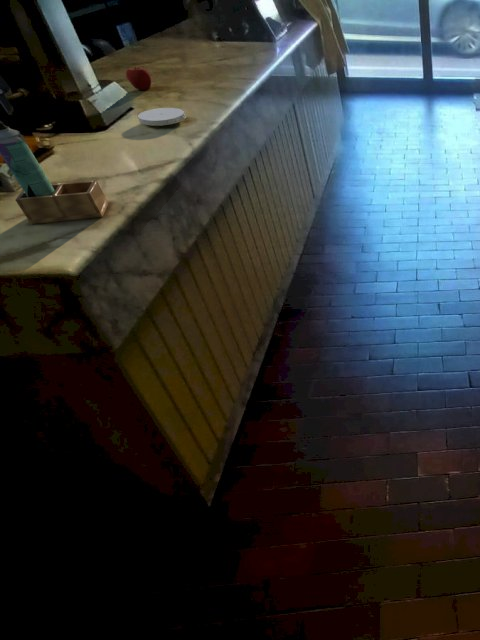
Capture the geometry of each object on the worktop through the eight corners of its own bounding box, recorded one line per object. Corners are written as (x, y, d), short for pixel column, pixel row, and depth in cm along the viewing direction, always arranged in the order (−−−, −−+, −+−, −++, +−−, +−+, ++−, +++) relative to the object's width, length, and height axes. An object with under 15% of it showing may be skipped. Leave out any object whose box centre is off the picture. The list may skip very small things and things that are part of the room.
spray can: (60, 203, 127) (8, 116, 113) (68, 210, 125) (16, 122, 111) (34, 210, 124) (-23, 121, 110) (42, 217, 122) (-15, 128, 108)
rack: (31, 224, 121) (14, 199, 117) (40, 209, 127) (25, 186, 122) (102, 216, 125) (89, 193, 121) (108, 203, 131) (96, 180, 126)
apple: (129, 88, 200) (120, 65, 195) (151, 85, 204) (142, 62, 199) (136, 93, 196) (126, 69, 191) (158, 89, 201) (149, 67, 195)
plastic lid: (168, 130, 169) (165, 122, 167) (131, 126, 171) (127, 118, 169) (196, 118, 179) (193, 110, 177) (160, 113, 181) (157, 106, 179)
